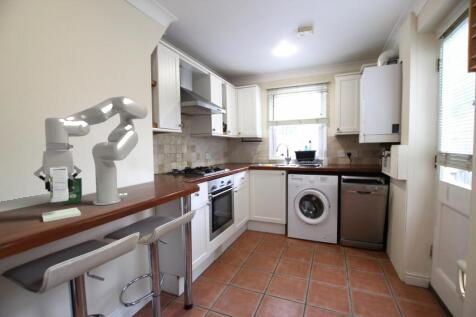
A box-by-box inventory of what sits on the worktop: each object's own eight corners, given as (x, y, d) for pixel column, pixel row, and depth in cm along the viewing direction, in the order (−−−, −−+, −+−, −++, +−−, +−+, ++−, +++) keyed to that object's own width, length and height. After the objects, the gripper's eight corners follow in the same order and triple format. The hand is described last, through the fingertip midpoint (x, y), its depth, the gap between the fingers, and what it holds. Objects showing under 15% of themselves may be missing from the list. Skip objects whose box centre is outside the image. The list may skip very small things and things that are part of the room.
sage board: (76, 210, 102) (76, 207, 102) (80, 215, 94) (80, 212, 94) (42, 215, 94) (41, 213, 94) (43, 222, 86) (43, 219, 86)
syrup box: (51, 200, 94) (50, 166, 93) (69, 198, 97) (67, 165, 97) (50, 202, 89) (48, 167, 89) (68, 200, 93) (67, 166, 92)
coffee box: (83, 201, 118) (82, 177, 118) (82, 202, 116) (81, 177, 115) (64, 203, 115) (63, 178, 114) (63, 204, 112) (61, 179, 111)
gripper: (81, 147, 101) (82, 186, 102) (29, 147, 89) (31, 191, 90) (84, 147, 96) (85, 188, 96) (29, 147, 84) (31, 194, 84)
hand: (59, 189), depth 93 cm, fingers closed on syrup box, 6 cm apart
